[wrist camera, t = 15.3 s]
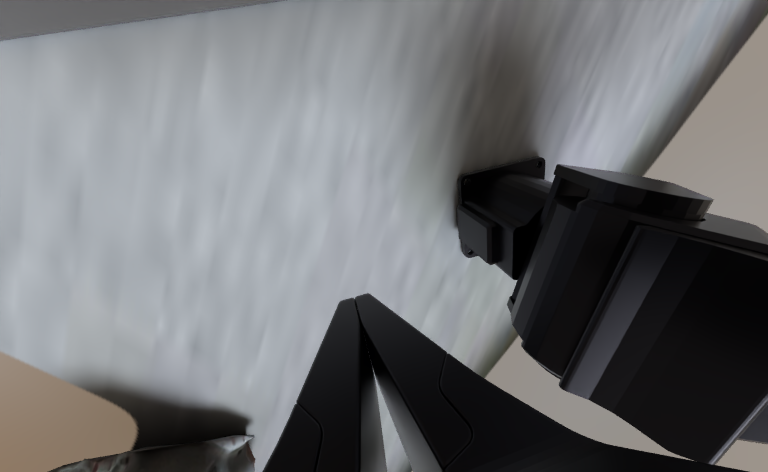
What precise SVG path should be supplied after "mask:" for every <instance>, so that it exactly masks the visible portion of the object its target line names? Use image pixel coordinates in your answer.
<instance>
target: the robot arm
mask: <svg viewBox="0 0 768 472" xmlns="http://www.w3.org/2000/svg"><path fill="white" fill-rule="evenodd" d="M537 162H538V165H537V166H536V163H537ZM554 175H555V178H554V181H553V183H552V182H549V181H546V180H544V176H545V160H544V158H542V157H532V158H528V159H524V160H520V161H516V162H512V163H507V164H503V165H499V166H495V167H491V168H487V169H483V170H478V171H474V172H470V173H466V174H463V175H461V176H460V177H459V179H458V191H459V206H458V208H457V216H458V231H459V239H460V240H461V241H462V252H463V254H464V255H465V256H466V257H468V258H471V257H475V256H480V257H481V258H482V259H483V260H484V261H485V262H486V263H488V264H490V265H493V264H496V265H497V266H498V267H499V268H500V269H502V270H503V271H504V272H505V273H506V274H507V275H509V276H510V277H511V278H512V279H514V280H518V281H517V283H516V286H515V289H514V292H513V295H512V296H510V297H509V300H508V303H507V306H508V308H509V310H510V312H511V319H512V325H513V326H514V328H515V329H516V331H517V333H518V334H519V336H520V337H521V338H522V340H523V341H522V343H521V346H522V347H523V349H524V350H525V352H526V353H528V354H529V355H530V356H531V357H532V358H533V359H534V360H535V361H536V362H537V363H538V364H539V365H541V366H542V367H543V368H544V369H545V370H546V371H548V372H549V373H551V374H552V375H554V376H555V377H557V378H559V379H561V380H560V382H559V386H560V388H562V389H563V390H565V391H567V392H570V393H573V394H575V395H578V396H580V397H583V398H585V399H588V400H590V401H592V402H594V403H596V404H598V405H599V406H601V407H603V408H605V409H607V410H609V411H611V412H613V413H614V414H616V415H617V416H619V417H620V418H622V419H623V420H625V421H626V422H628V423H629V424H631V425H632V426H633V427H635V428H637V429H638V430H639V431H641V432H642V433H643V434H645V435H646V436H648V437H649V438H651V439H652V440H653V441H655V442H656V443H657V444H659V445H660V446H662V447H663V448H665V449H666V450H668V451H670V452H672V453H674V454H677V455H680V456H683V457H686V458H688V459H691V460H694V461H691V460H686V459H680V458H675V457H670V456H665V455H660V454H654V453H649V452H644V451H639V450H634V449H628V448H623V447H618V446H613V445H608V444H604V443H602V442H598V441H595V440H593V439H590V438H587V437H585V436H583V435H580V434H578V433H576V432H574V431H572V430H570V429H568V428H566V427H565V426H563V425H561V424H559V423H558V422H555V421H554V420H552V419H551V418H549V417H547V416H546V415H544V414H542V413H541V412H539V411H537V410H535V409H534V408H532V407H530V406H529V405H527V404H525V403H524V402H522V401H520V400H519V399H517V398H515V397H514V396H512V395H510V394H509V393H507V392H505V391H503V390H502V389H500V388H498V387H497V386H495V385H494V384H492V383H490V382H489V381H487V380H486V379H484V378H482V377H481V376H479V375H478V374H476V373H475V372H473V371H472V370H471V369H469V368H468V367H466V366H465V365H464V364H462V363H461V362H459V361H458V360H457V359H455V358H454V357H453V356H452V355H450V354H447V352H446V351H445V350H443V349H442V348H441V347H439V346H438V345H437V344H435V343H434V342H433V341H431V340H430V339H429V338H427V337H426V336H425V335H424V334H422V333H421V332H420V331H418V330H417V329H416V328H414V327H413V326H412V325H410V324H409V323H408V322H406V321H405V320H404V319H402V318H401V317H400V316H398V315H397V314H396V313H394V312H393V311H392V310H390V309H389V308H388V307H386V306H385V305H384V304H382V303H381V302H380V301H378V300H377V299H376V298H374V297H373V296H372V295H371V294H369V293H367V294H363V295H360V296H357V297H356V298H355V299H354V298H349V299H346V300H343V301H340V302H339V304H338V307H337V309H336V311H335V313H334V316H333V318H332V320H331V323H330V325H329V327H328V330H327V332H326V334H325V337H324V339H323V341H322V344H321V346H320V348H319V350H318V353H317V355H316V357H315V360H314V362H313V364H312V367H311V369H310V371H309V374H308V376H307V378H306V380H305V383H304V385H303V387H302V390H301V392H300V394H299V397H298V399H297V404H295V405H294V408H293V410H292V412H291V415H290V417H289V419H288V422H287V424H286V426H285V428H284V430H283V432H282V434H281V437H280V439H279V441H278V443H277V445H276V447H275V449H274V451H273V453H272V455H271V456H270V458H269V460H268V462H267V464H266V466H265V468H264V470H263V472H387V466H386V459H385V451H384V443H383V435H382V428H381V420H380V412H379V405H378V397H377V389H376V382H375V377H376V379H377V382H378V385H379V387H380V390H381V392H382V395H383V397H384V400H385V402H386V405H387V407H388V410H389V412H390V415H391V417H392V420H393V422H394V425H395V427H396V430H397V432H398V435H399V437H400V440H401V442H402V445H403V447H404V450H405V452H406V455H407V457H408V460H409V462H410V465H411V467H412V470H413V472H748V471H743V470H738V469H732V468H727V467H722V466H717V465H715V464H716V463H717V462H718V461H719V460H720V459H721V458H722V456H723V455H724V454H725V453H726V452H727V451H728V449H729V448H730V447H731V446H732V445H733V444H734V443H735V441H736V440H743V441H749V442H756V443H762V444H768V233H766V232H765V231H764V230H762V229H761V228H759V227H757V226H756V225H753V224H750V223H746V222H742V221H738V220H734V219H730V218H726V217H721V216H717V215H713V214H709V213H706V212H707V211H708V209H709V207H710V205H711V204H712V202H713V199H712V198H709V197H707V196H704V195H701V194H699V193H696V192H694V191H691V190H689V189H687V188H684V187H682V186H679V185H676V184H674V183H670V182H666V181H661V180H655V179H651V178H646V177H641V176H636V175H631V174H626V173H620V172H613V171H605V170H598V169H590V168H583V167H576V166H568V165H561V164H557V166H556V169H555V171H554ZM466 179H468V182H467V184H465V185H464V181H465V180H466ZM470 249H471V251H470V252H469V253H468V251H469V250H470ZM356 305H357V306H356ZM357 309H358V310H357ZM363 332H364V333H363ZM368 351H369V352H368ZM369 355H370V356H369ZM370 359H371V360H370ZM372 366H373V367H372ZM373 370H374V372H373ZM374 373H375V376H374ZM696 461H697V462H696Z"/></svg>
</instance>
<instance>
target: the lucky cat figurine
mask: <svg viewBox="0 0 768 472" xmlns="http://www.w3.org/2000/svg"><path fill="white" fill-rule="evenodd" d="M252 438H254V435H247V434H246V435H245V436H243V435H236V436H228V437H224V438H219V439H214V440H209V441H204V442H196V443H187V444H178V445H168V446H154V447H144V448H139V449H137V450H132V451H127V452H124V453H121V454H115V455H110V456H105V457H98V458H93V459H84V460H83V461H79V462H75V463H71V464H67V465H63V466H61V467H58V468H56V469H53V470H51V471H49V472H254V471H255V468H254V463H255V458H254V456H253V454H252V452H251V449H250V447H249V444H248V442H247V441H248V440H250V439H252Z"/></svg>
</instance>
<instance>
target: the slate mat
mask: <svg viewBox="0 0 768 472" xmlns="http://www.w3.org/2000/svg"><path fill="white" fill-rule="evenodd" d="M277 1H285V0H0V41H1V40H8V39H15V38H22V37H29V36H36V35H43V34H51V33H58V32H65V31H72V30H79V29H86V28H93V27H100V26H107V25H114V24H121V23H129V22H136V21H143V20H150V19H157V18H164V17H171V16H178V15H185V14H192V13H199V12H207V11H214V10H221V9H228V8H235V7H242V6H249V5H256V4H263V3H270V2H277Z"/></svg>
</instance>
